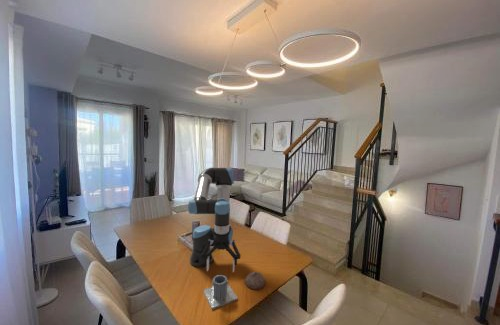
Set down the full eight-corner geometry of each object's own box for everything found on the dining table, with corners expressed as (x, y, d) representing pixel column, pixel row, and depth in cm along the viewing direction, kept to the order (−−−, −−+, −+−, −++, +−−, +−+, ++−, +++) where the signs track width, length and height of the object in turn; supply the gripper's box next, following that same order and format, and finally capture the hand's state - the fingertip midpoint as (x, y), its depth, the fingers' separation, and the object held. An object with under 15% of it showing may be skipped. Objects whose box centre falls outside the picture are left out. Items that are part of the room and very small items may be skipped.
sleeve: (211, 298, 105) (211, 284, 105) (213, 288, 113) (214, 274, 112) (226, 299, 105) (227, 284, 105) (228, 288, 113) (228, 275, 112)
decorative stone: (242, 287, 117) (242, 278, 116) (248, 274, 128) (249, 266, 127) (262, 292, 113) (262, 283, 112) (267, 279, 124) (267, 270, 124)
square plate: (203, 291, 112) (203, 281, 111) (226, 283, 119) (227, 273, 118) (212, 309, 100) (212, 298, 99) (237, 299, 107) (238, 288, 106)
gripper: (195, 234, 102) (195, 273, 104) (245, 235, 102) (244, 275, 105) (199, 227, 109) (198, 264, 112) (246, 229, 110) (244, 266, 112)
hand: (220, 270), depth 108 cm, fingers open, 13 cm apart
